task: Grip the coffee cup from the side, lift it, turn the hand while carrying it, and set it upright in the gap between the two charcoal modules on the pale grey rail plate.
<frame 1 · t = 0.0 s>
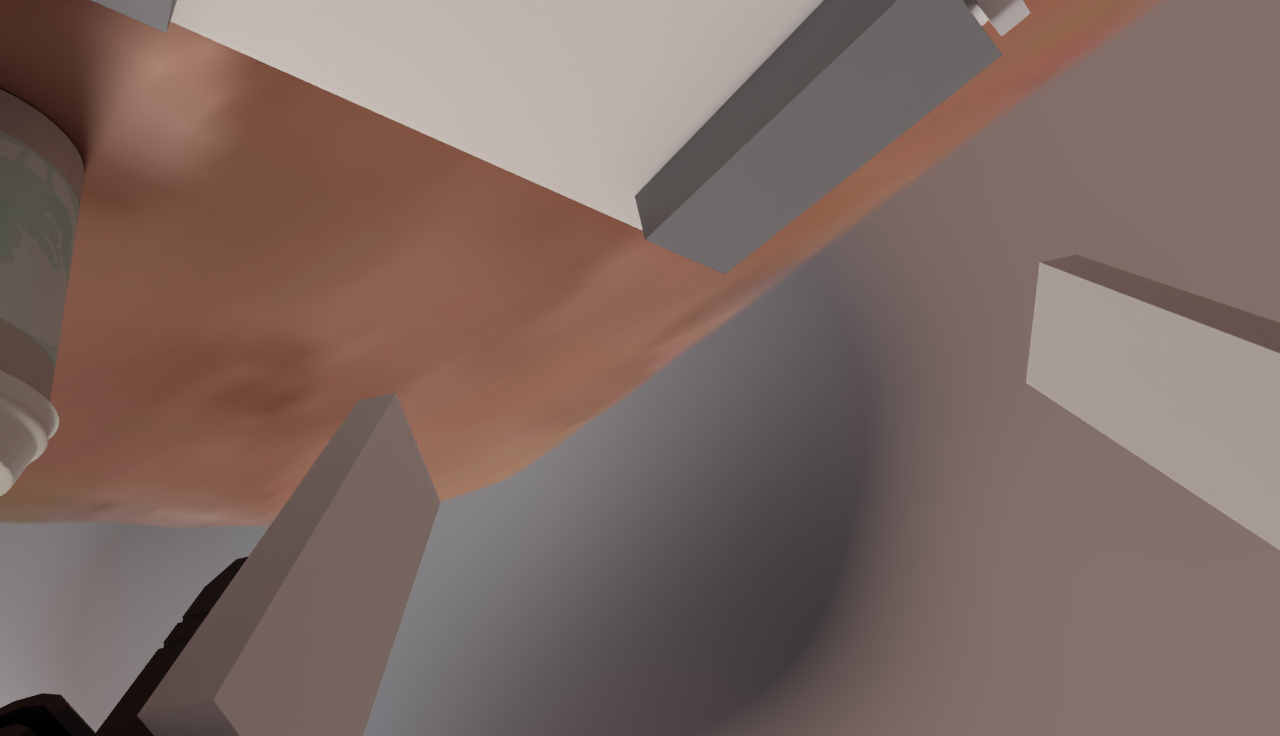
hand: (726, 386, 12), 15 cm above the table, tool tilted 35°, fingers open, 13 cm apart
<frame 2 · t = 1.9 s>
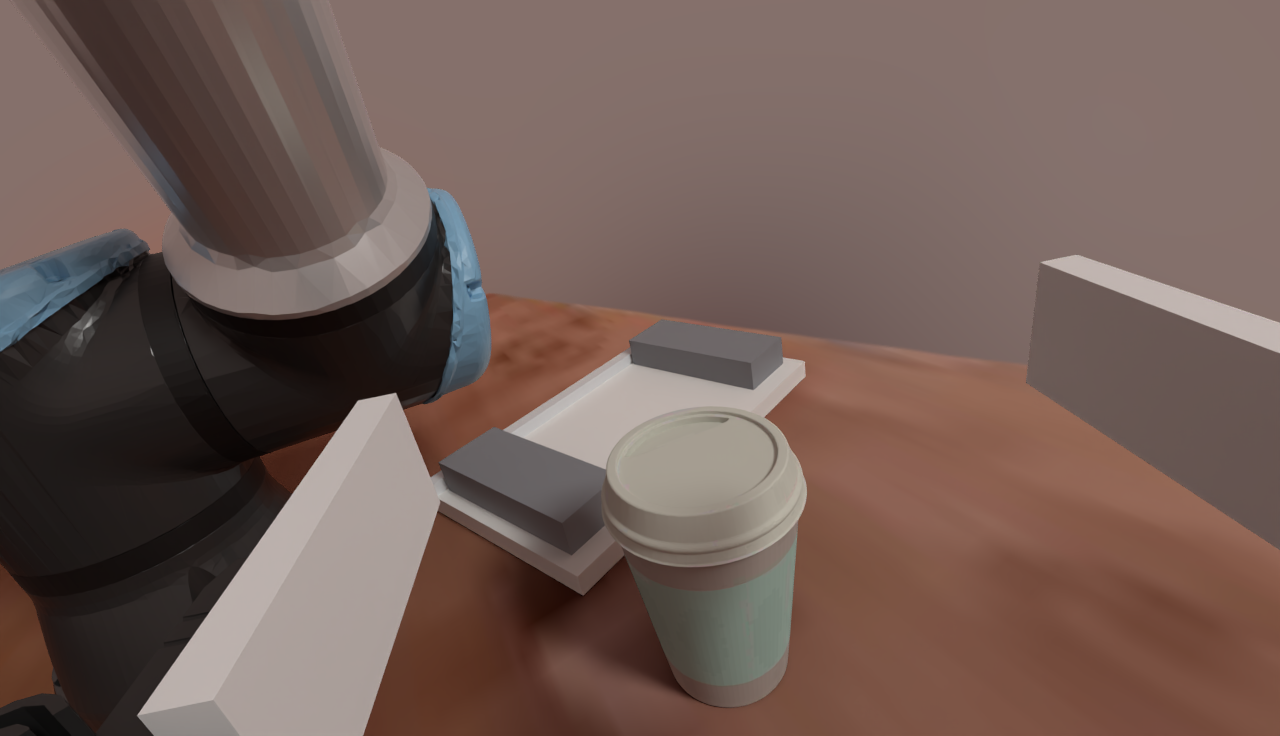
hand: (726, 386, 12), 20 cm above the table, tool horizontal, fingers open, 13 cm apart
rail plate: (634, 437, 49), on the table
coffee cup: (727, 655, 30), on the table
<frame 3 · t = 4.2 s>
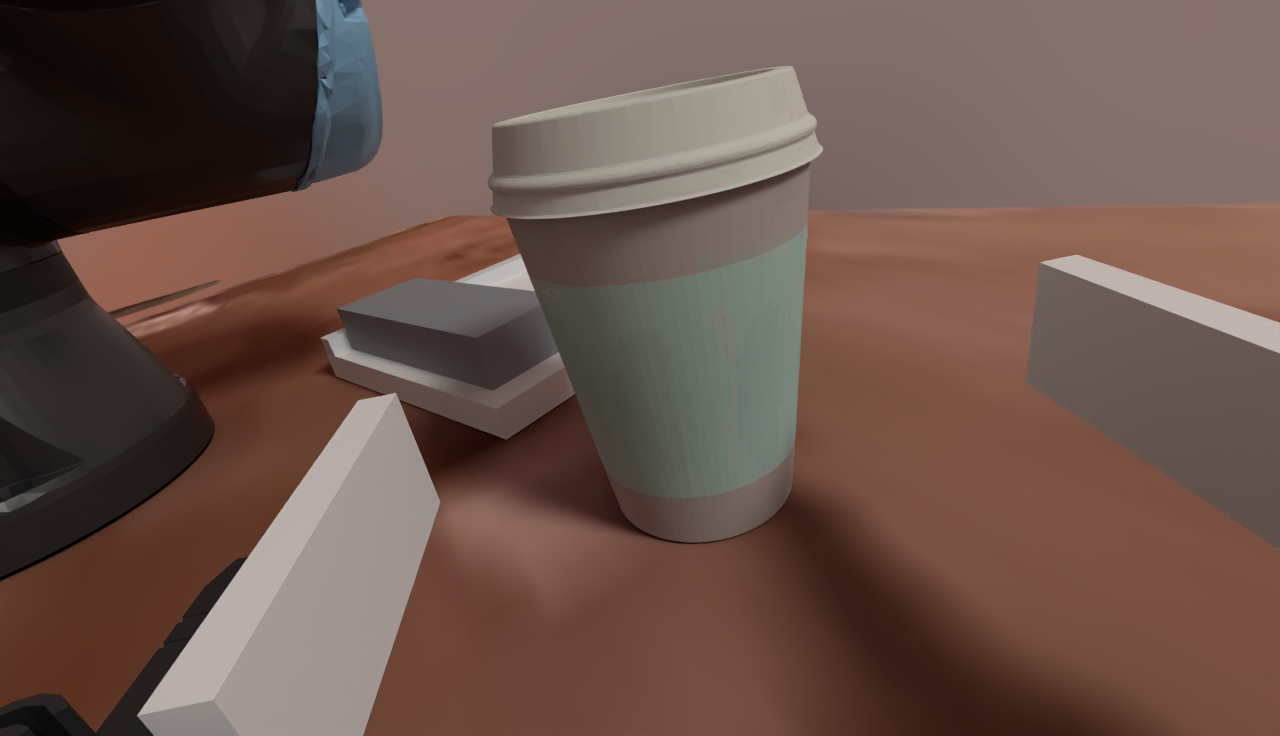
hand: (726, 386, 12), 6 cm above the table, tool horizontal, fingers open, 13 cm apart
rail plate: (595, 299, 39), on the table
coffee cup: (703, 487, 20), on the table
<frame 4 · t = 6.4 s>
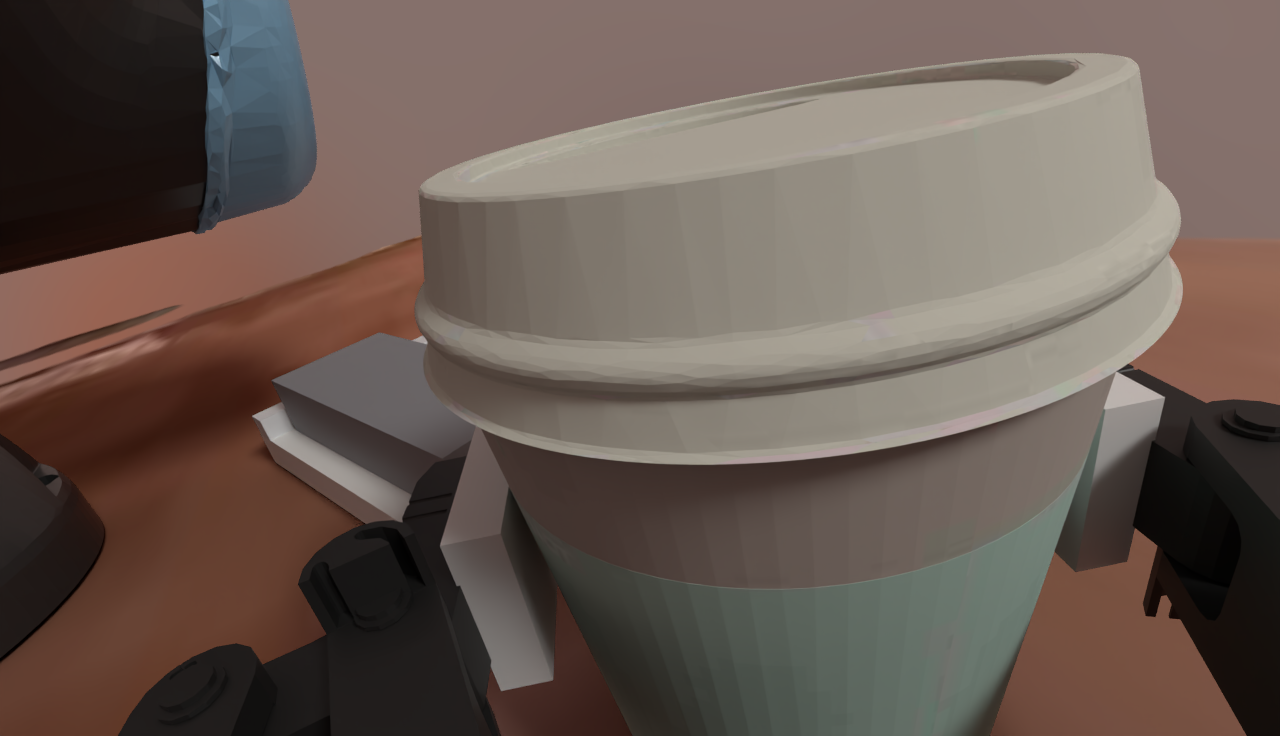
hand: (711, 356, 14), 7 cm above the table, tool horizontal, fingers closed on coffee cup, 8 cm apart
rail plate: (607, 355, 31), on the table
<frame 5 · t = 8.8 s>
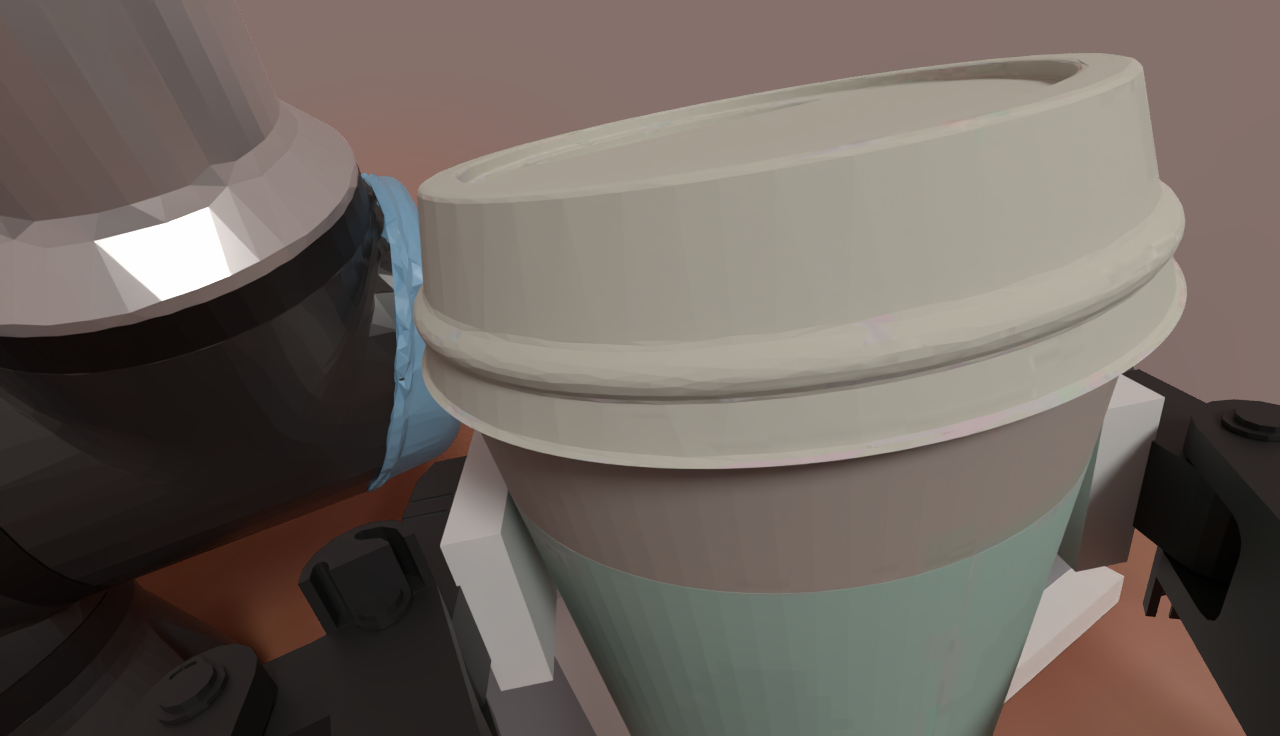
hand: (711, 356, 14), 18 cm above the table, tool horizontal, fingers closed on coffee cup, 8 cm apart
rail plate: (747, 645, 27), on the table
when the fingers open (10 cm above the table, at t = 11.6 s): coffee cup drops 1 cm, resting on rail plate.
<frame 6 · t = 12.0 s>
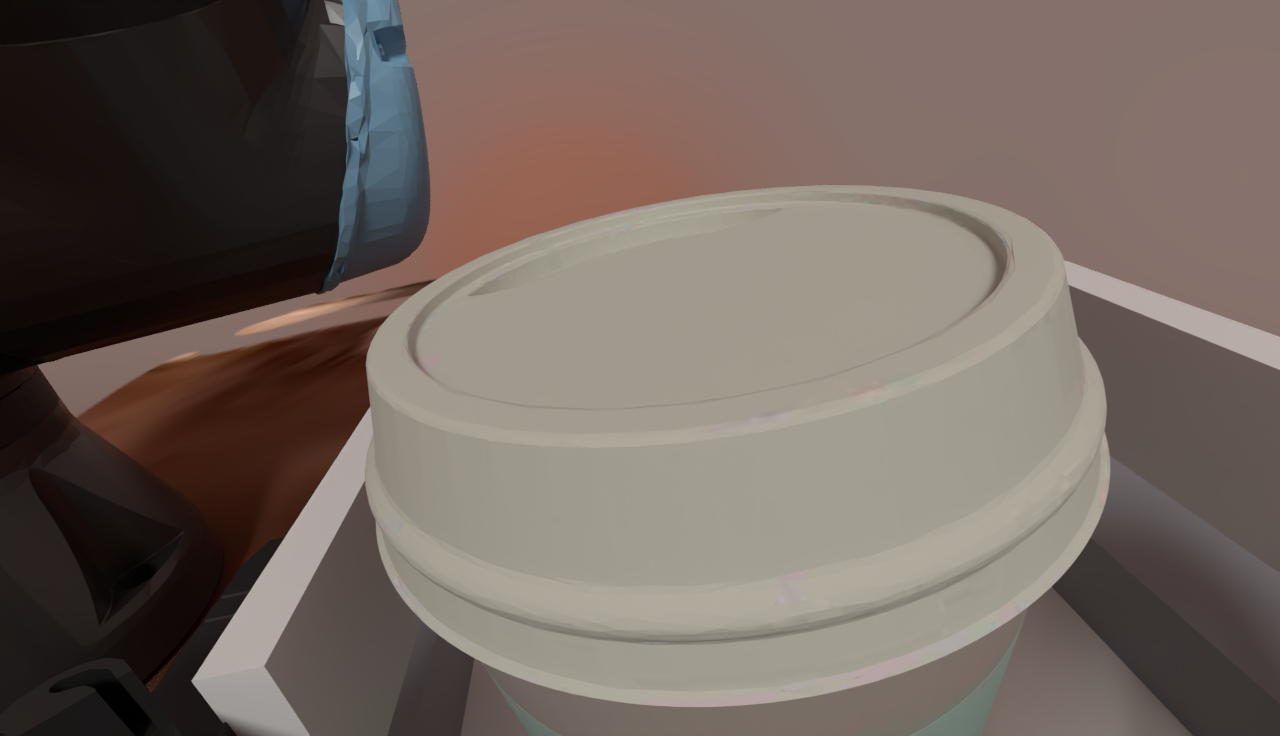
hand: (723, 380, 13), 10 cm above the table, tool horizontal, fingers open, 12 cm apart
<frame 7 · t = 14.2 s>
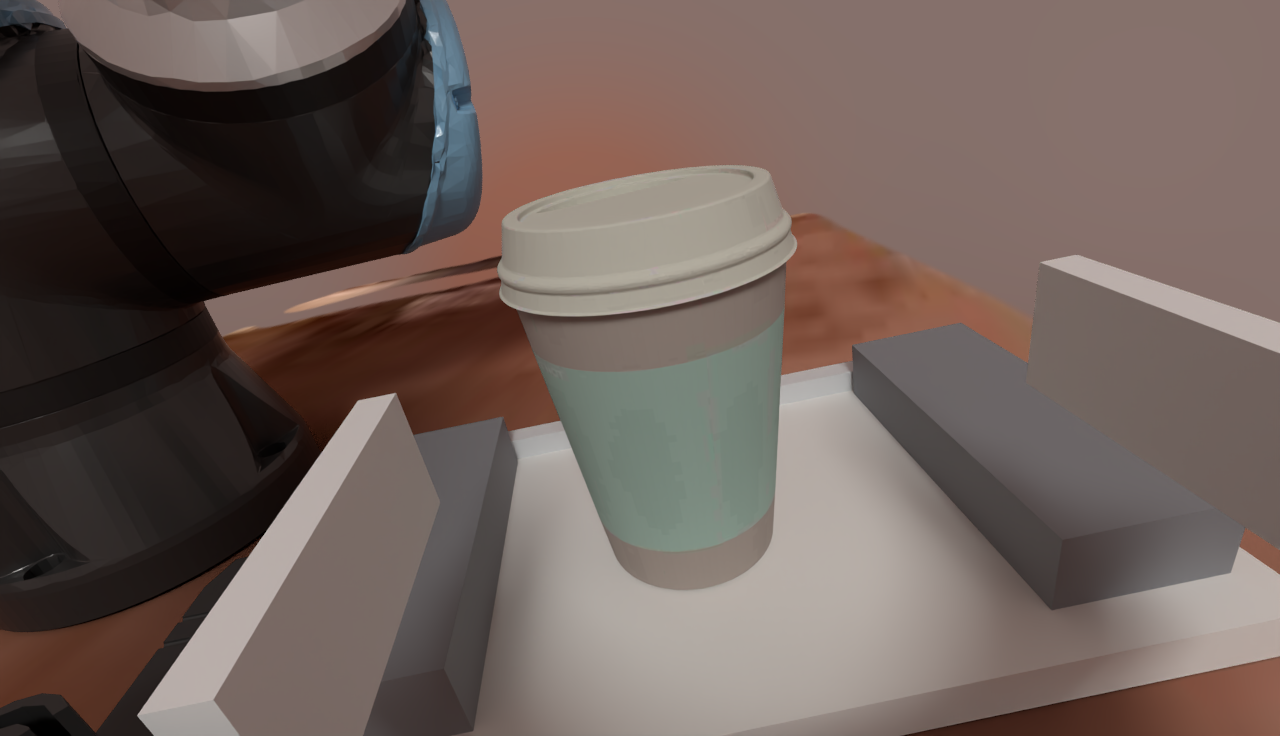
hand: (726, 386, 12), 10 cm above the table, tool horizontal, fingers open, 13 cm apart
rail plate: (719, 547, 23), on the table
coffee cup: (691, 534, 22), point 1 cm above the table, touching rail plate
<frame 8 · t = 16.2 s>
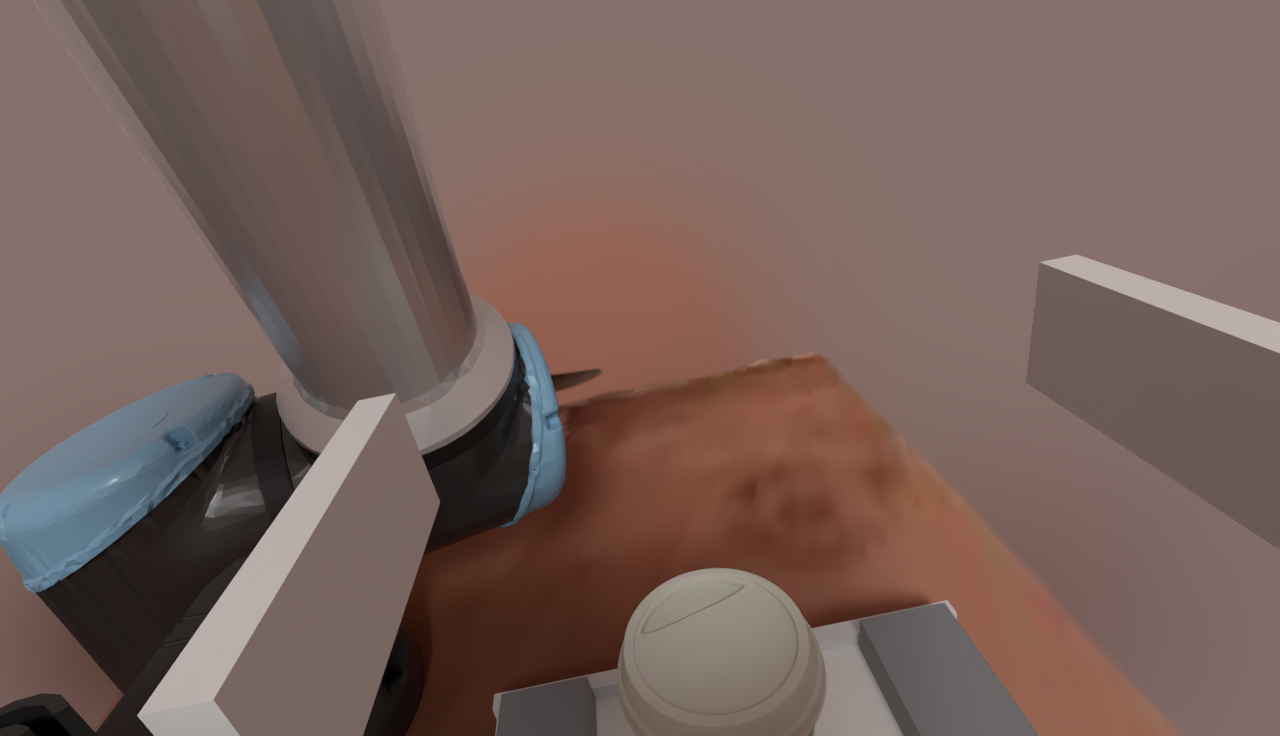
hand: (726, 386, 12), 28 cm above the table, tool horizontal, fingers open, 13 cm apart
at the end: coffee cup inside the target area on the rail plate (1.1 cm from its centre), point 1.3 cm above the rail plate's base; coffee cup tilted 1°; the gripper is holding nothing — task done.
